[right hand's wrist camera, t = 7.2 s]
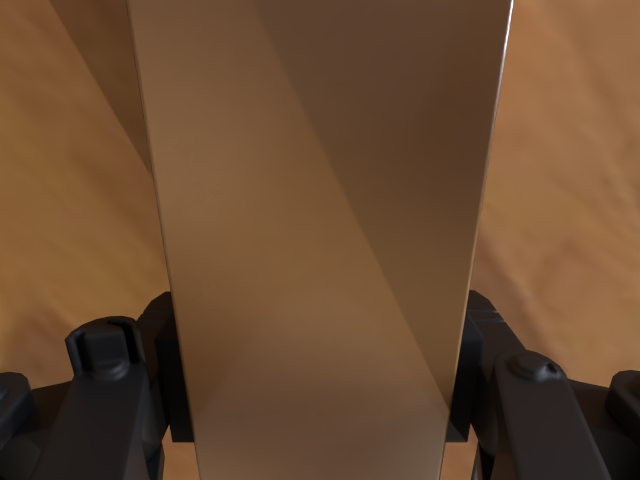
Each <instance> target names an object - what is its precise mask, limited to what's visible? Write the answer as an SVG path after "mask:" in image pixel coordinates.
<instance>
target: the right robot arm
mask: <svg viewBox="0 0 640 480" xmlns="http://www.w3.org/2000/svg"><path fill="white" fill-rule="evenodd" d="M65 343H66V347H67V350H68V354H69V357H70V361H71V365H72V368H73V372H74V377H73V379H72V381H68V382H65V383H61V384H56V385H51V386H46V387H42V388H37V389H32V390H31V388H30V385H29V382H28V379H27V378H26V377H25V376H24V375H22V374H21V373H14V372H5V373H0V480H162V479H163V469H164V460H165V457H164V450H163V445H162V439H163V437H164V435H165V432H166V430H167V428H168V426H169V425H170V431H171V436H172V442H194V438H193V432H192V425H191V419H190V412H189V406H188V399H187V393H186V386H185V380H184V374H183V367H182V361H181V354H180V348H179V341H178V335H177V328H176V322H175V316H174V309H173V303H172V296H171V292H164V293H163V294H161V295H160V296H158V297H157V298H155V299H154V300H152V301H151V302H150V303H149V305H148V306H147V307H146V309H145V310H144V312H143V314H141V316H140V317H139V318H138V320H137V321H136V320H134V319H133V318H130V317H125V316H109V317H105V318H100V319H96V320H93V321H91V322H88V323H86V324H83V325H81V326H80V327H78V328H77V329H75V330H74V331H72V332H71V333H70V334H69V335H68V336H67V338H66V339H65ZM470 424H472V426H473V429H474V431H475V433H476V436H477V438H478V445H477V450H476V455H475V460H474V466H473V471H472V476H471V480H477V478H478V480H640V371H634V370H627V371H620V372H618V373H617V374H616V375H614V376H613V378H612V381H611V384H610V387H609V388H607V387H602V386H597V385H592V384H588V383H583V382H578V381H574V380H571V379H567V376H566V374H565V373H564V371H563V370H562V369H561V367H560V366H559V365H558V364H556V363H555V362H554V361H552V360H551V359H549V358H548V357H545V356H543V355H541V354H539V353H537V352H533V351H529V350H526V349H525V347H524V346H523V345H522V343H521V342H520V341H519V339H518V338H517V337H516V335H515V334H514V333H513V331H512V330H511V329H510V327H509V326H508V325H507V324H506V322H504V321H503V318H502V317H501V316H500V314H499V313H497V310H496V309H495V308H494V306H493V305H492V304H491V302H490V301H489V300H488V299H487V298H485V297H484V296H482V295H481V294H479V293H478V292H476V291H475V290H469V294H468V300H467V307H466V313H465V320H464V326H463V333H462V339H461V345H460V352H459V358H458V365H457V371H456V378H455V384H454V391H453V397H452V404H451V410H450V417H449V423H448V429H447V436H446V442H467V440H468V435H469V429H470Z"/></svg>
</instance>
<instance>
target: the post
mask: <svg viewBox="0 0 640 480" xmlns="http://www.w3.org/2000/svg"><path fill="white" fill-rule="evenodd" d="M513 3H514V0H126V6H127V13H128V19H129V26H130V32H131V38H132V45H133V51H134V58H135V64H136V71H137V77H138V84H139V90H140V96H141V103H142V109H143V116H144V122H145V129H146V135H147V142H148V148H149V154H150V161H151V167H152V174H153V180H154V187H155V193H156V200H157V206H158V212H159V219H160V225H161V232H162V238H163V245H164V251H165V258H166V264H167V270H168V277H169V283H170V290H171V296H172V303H173V309H174V316H175V322H176V328H177V335H178V341H179V348H180V354H181V361H182V367H183V374H184V380H185V386H186V393H187V399H188V406H189V412H190V419H191V425H192V432H193V438H194V445H195V451H196V457H197V464H198V470H199V477H200V480H440V475H441V468H442V462H443V455H444V449H445V442H446V436H447V429H448V423H449V417H450V410H451V404H452V397H453V391H454V384H455V378H456V371H457V365H458V358H459V352H460V345H461V339H462V333H463V326H464V320H465V313H466V307H467V300H468V294H469V287H470V281H471V274H472V268H473V261H474V255H475V249H476V242H477V236H478V229H479V223H480V216H481V210H482V203H483V197H484V190H485V184H486V177H487V171H488V165H489V158H490V152H491V145H492V139H493V132H494V126H495V119H496V113H497V106H498V100H499V93H500V87H501V81H502V74H503V68H504V61H505V55H506V48H507V42H508V35H509V29H510V22H511V16H512V9H513Z"/></svg>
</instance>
